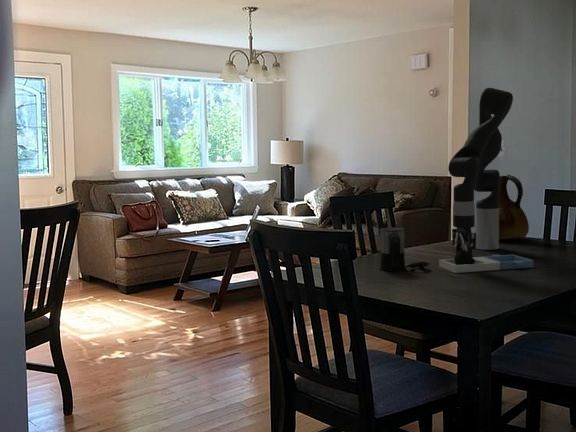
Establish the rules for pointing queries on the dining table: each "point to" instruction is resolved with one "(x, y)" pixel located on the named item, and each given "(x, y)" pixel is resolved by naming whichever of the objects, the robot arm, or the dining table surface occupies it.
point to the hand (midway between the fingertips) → (463, 259)
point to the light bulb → (463, 258)
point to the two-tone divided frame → (488, 263)
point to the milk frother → (394, 250)
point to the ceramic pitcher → (511, 212)
